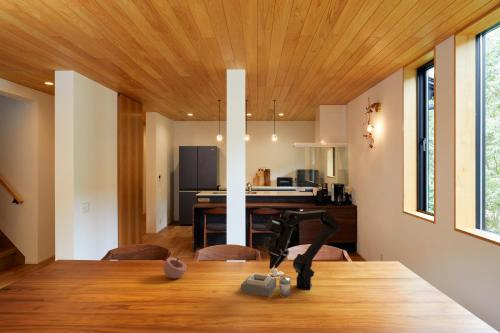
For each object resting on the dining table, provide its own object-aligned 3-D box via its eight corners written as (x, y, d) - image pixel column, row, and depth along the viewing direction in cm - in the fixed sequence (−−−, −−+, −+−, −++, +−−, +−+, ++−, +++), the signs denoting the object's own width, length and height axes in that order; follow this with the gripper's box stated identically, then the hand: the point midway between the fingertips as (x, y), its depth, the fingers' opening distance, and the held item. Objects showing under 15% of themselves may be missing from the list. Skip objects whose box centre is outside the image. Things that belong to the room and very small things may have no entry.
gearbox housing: (276, 286, 153) (276, 274, 152) (269, 297, 141) (269, 284, 141) (249, 283, 157) (249, 271, 157) (241, 292, 146) (241, 280, 146)
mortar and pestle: (183, 282, 159) (183, 260, 158) (160, 282, 159) (160, 260, 159) (188, 273, 171) (188, 253, 170) (167, 273, 171) (167, 253, 171)
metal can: (291, 293, 145) (291, 276, 145) (288, 297, 141) (288, 280, 140) (280, 291, 147) (280, 275, 147) (278, 296, 142) (278, 278, 142)
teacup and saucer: (283, 274, 171) (283, 266, 171) (283, 279, 163) (283, 272, 163) (267, 273, 172) (267, 266, 172) (267, 279, 164) (267, 271, 164)
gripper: (273, 231, 159) (263, 261, 157) (263, 229, 142) (251, 262, 140) (293, 239, 155) (283, 270, 152) (285, 238, 138) (273, 272, 136)
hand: (272, 268), depth 145 cm, fingers open, 9 cm apart
